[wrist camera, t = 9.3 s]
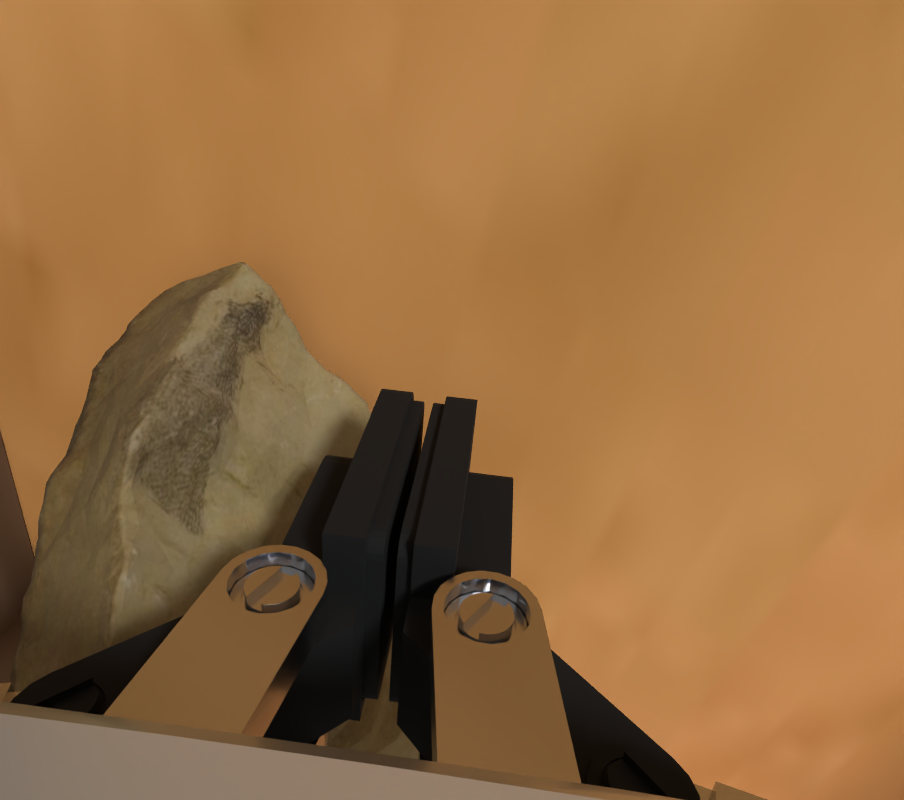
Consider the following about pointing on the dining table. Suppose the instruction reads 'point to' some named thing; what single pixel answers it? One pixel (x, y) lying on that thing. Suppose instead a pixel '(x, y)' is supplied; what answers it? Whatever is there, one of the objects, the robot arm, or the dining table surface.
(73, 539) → the rock
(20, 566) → the corner stop
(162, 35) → the dining table surface
